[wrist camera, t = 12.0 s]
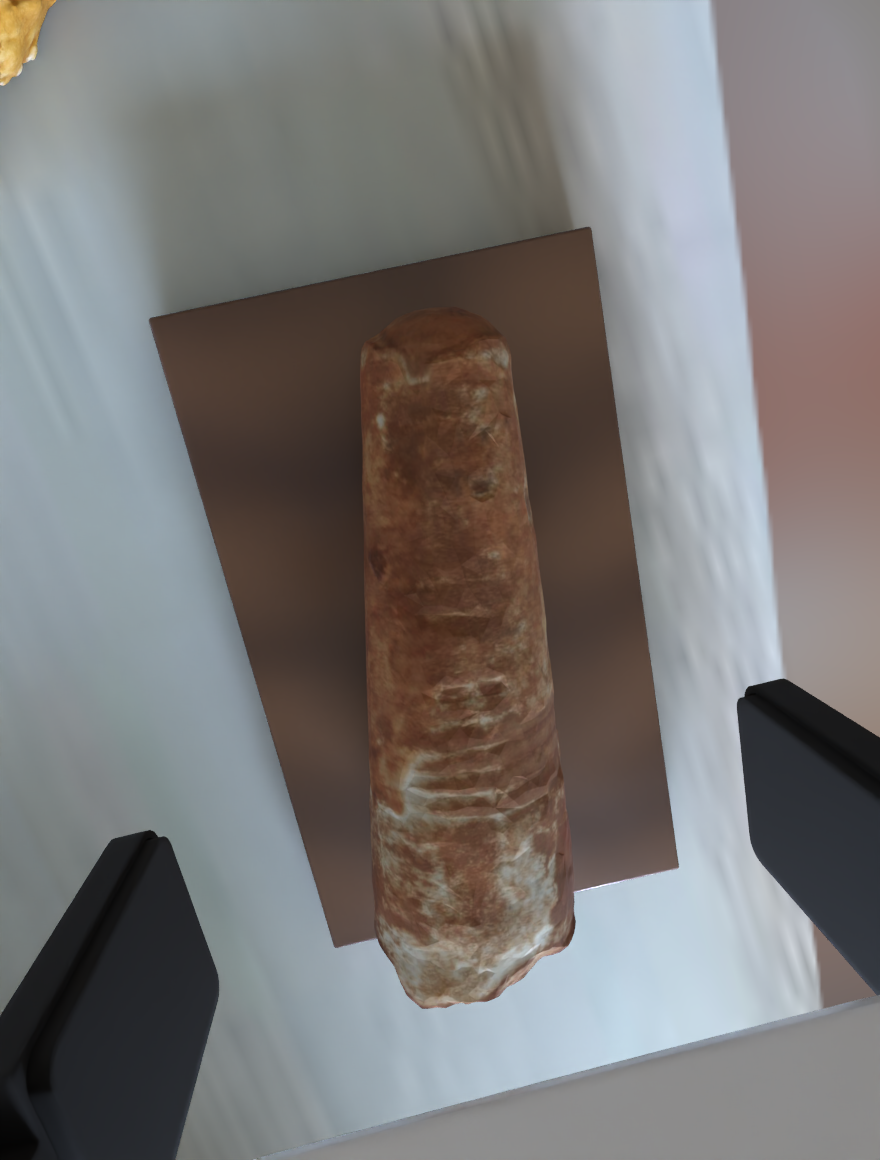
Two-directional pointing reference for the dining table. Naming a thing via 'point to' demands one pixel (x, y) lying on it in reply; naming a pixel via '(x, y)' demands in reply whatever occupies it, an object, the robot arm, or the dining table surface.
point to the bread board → (336, 538)
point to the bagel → (19, 34)
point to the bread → (457, 669)
